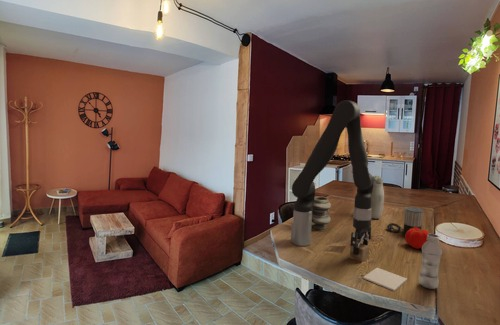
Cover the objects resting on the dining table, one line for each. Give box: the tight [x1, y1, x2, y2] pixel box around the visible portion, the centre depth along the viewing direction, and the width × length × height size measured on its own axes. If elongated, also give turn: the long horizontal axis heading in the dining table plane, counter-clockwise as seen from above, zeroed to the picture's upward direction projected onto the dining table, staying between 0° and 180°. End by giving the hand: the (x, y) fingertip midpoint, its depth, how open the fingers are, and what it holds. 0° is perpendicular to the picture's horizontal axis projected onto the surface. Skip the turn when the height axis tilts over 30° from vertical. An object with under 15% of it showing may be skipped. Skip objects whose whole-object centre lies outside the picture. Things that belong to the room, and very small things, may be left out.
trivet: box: [362, 267, 408, 292], centre depth 116 cm, size 12×12×1 cm
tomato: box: [404, 227, 430, 250], centre depth 148 cm, size 11×12×9 cm
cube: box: [349, 242, 370, 263], centre depth 134 cm, size 6×6×6 cm
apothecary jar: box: [311, 195, 332, 232], centre depth 173 cm, size 12×12×18 cm
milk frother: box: [386, 206, 425, 236], centre depth 167 cm, size 14×16×15 cm
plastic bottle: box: [418, 233, 443, 290], centre depth 110 cm, size 6×7×20 cm
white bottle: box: [371, 175, 385, 220], centre depth 193 cm, size 10×10×28 cm
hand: (360, 252), depth 134 cm, fingers open, 8 cm apart
